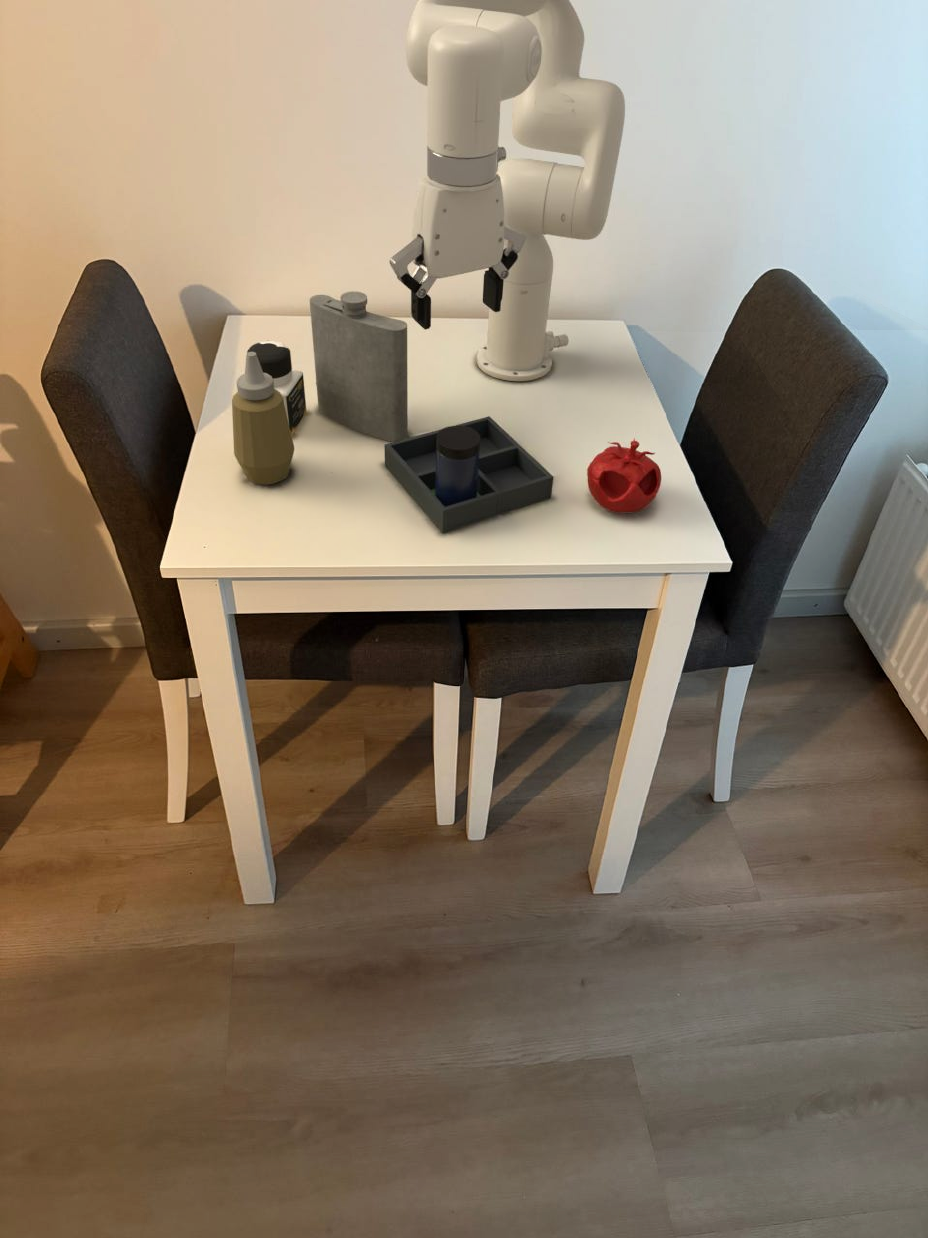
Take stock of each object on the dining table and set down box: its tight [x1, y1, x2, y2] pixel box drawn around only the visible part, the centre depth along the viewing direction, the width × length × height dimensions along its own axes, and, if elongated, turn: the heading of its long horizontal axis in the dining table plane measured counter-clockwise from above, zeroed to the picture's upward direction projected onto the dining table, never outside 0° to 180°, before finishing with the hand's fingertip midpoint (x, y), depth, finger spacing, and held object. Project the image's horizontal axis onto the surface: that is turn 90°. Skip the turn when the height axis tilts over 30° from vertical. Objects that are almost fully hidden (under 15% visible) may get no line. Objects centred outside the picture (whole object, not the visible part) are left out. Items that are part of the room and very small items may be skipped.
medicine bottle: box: [246, 340, 308, 436], centre depth 129 cm, size 7×7×12 cm
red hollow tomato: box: [586, 437, 662, 514], centre depth 120 cm, size 10×10×9 cm
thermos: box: [435, 425, 480, 507], centre depth 116 cm, size 6×6×10 cm
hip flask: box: [309, 291, 409, 442], centre depth 127 cm, size 16×4×20 cm, turn 58°
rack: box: [383, 415, 555, 534], centre depth 123 cm, size 17×17×4 cm
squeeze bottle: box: [231, 352, 295, 485], centre depth 118 cm, size 8×8×18 cm
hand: (457, 315), depth 108 cm, fingers open, 9 cm apart
